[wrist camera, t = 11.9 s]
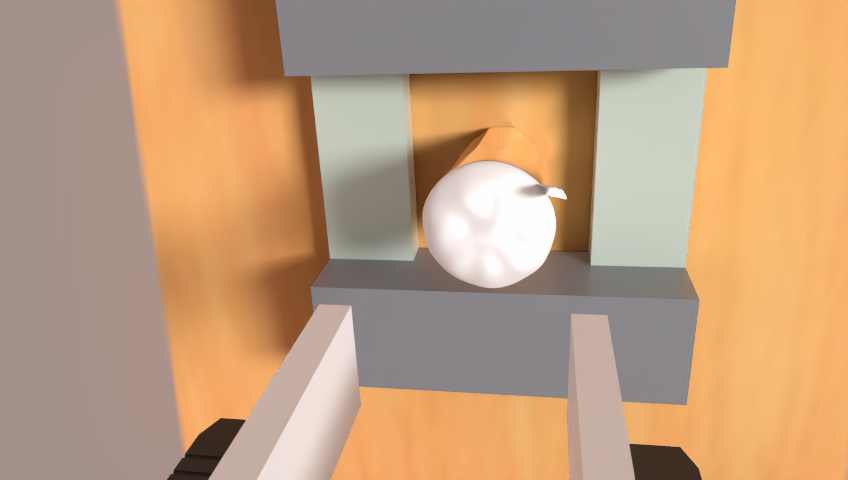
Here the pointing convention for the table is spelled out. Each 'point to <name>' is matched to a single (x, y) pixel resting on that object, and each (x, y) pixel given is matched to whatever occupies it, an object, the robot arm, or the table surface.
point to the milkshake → (492, 212)
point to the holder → (562, 270)
